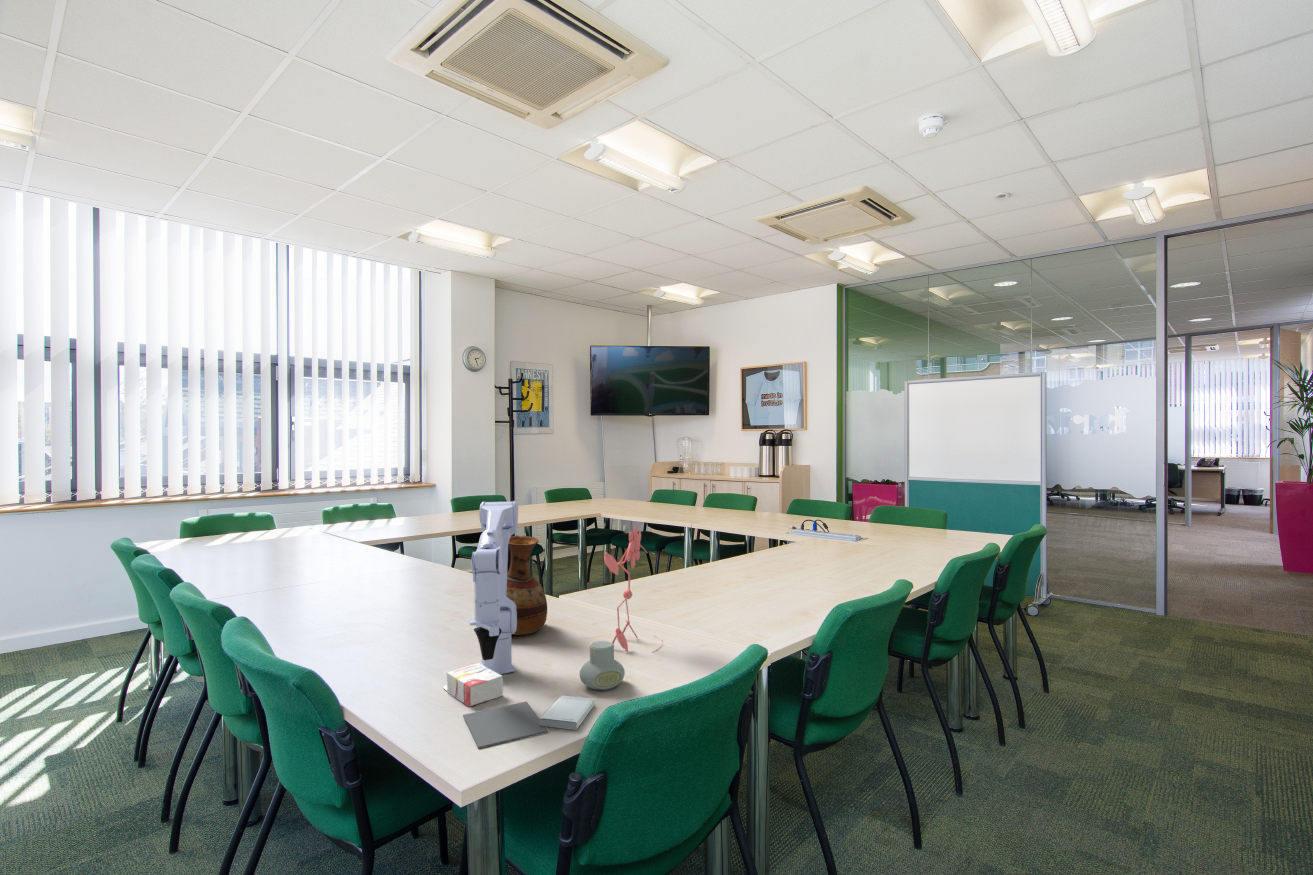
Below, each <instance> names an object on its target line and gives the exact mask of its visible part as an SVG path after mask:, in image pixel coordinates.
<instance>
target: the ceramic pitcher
mask: <svg viewBox="0 0 1313 875" xmlns="http://www.w3.org/2000/svg"><path fill="white" fill-rule="evenodd" d="M539 542H540V541H539V539H537V538H536V537H533V536H528V535H525V536H524V535H511V536H510V540H509V543H508V564H507V592H506V597H508V598H509V599H510V600H512V601H513V602H514V603H515V605H516V612H517V628H516V632H515V633H514V634H513V635H515V636H516V635H517V636H521V634H522V635H527V634H533V633H535V632H537V631H539V630H541V629H542V628H543V627H544V626H545V624H546V621H547V617H548V602H547V598H546V597H547V596H546V594H545V590H544V589H543V586H542V585H541V583H540V582H539V581H538V579H536V578H535V577H534V576H533V575H532V574H530V573H531V572H530V566H529V565H530V558H531V554H532V552H533V551H532V550H533V549H534V548H535V546H537V544H538V543H539ZM500 610H510V609H500Z"/></svg>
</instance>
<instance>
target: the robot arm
mask: <svg viewBox="0 0 1313 875" xmlns="http://www.w3.org/2000/svg"><path fill="white" fill-rule="evenodd" d="M478 511H479V514H478V516H479V523H480V526H481V530H482V532H481V534H480V537H479V541H478V545H477V547H476V548H477V549H475V550H476V551H472V553H471V554H472V555H471V563H470V564H471V571H472V582H473V583H474V619H473V620H471V619H470V620H469V625H470V626H476V627H475V628H473V631H474V632H475V635H476V637H477V639H478V643H479V644H478V645H479V648H480V654H481V663H480V662H478V663H479V664H481V665H483V666H485V667H487V668H489V669H490V670H492V671H494V672H496V673H498V674H500V675H505V674H508V673H515V672H517V668H516V667H515V666H514V665H513V663H512V657H513V656H512V654H513V652H512V635H514V633H515V632H516V628H517V612H516V605H515V603H514V602H513V601H512V600H510V599H509V598H508V597H506V592H507V564H508V543H509V540H510V537H512V536H514V535H515V534H517V532H518V531H517V530H518V528H519V526H518V525H519V504H518V502H517V501H516V500H513V501H482V502H481V503H480V505H479V510H478ZM500 609H510V610H500Z"/></svg>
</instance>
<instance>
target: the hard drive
mask: <svg viewBox="0 0 1313 875" xmlns="http://www.w3.org/2000/svg"><path fill="white" fill-rule="evenodd" d="M595 701H596V700H595V699H594V698H592V697H591V698H589V697H580V696H571V695H570V696H568V695H561V696H559V697H558V698H557V700H555V702H554V703H553V704H552V705H551V706H550V707H549V708H548V709H547V710H546V711H545V712H544V714H542V716H541V717H539V718H540V720H539V721H540V722H539V724H540V725H541V726H546V727H548V728H549V727H550V728H556V729H557V728H558V729H559V728H560V729H567V730H573V731H575V730H578V728H579V727H580V725H582V722H583V721H584V720H585V718H586V717H587V716H588V714H589V713H590V712H591V710H592V709H593V708H594V707H595V704H596V703H595Z"/></svg>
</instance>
